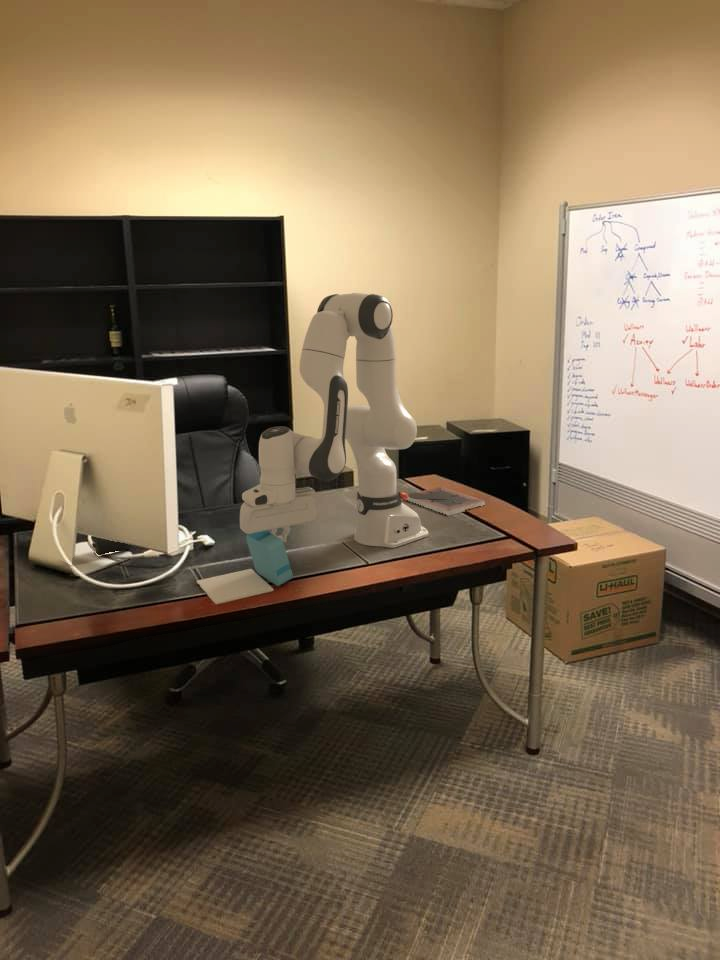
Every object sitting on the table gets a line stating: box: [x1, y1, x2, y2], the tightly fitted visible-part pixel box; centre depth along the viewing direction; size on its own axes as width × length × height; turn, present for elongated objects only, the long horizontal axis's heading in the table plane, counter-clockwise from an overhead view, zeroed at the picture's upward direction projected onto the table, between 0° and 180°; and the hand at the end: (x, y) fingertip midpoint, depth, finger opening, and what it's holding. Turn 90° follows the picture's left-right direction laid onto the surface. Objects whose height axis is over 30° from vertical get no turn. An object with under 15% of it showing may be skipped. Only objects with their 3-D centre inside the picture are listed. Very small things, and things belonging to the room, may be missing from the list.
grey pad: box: [196, 568, 275, 605], centre depth 188 cm, size 15×15×1 cm
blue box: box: [245, 530, 294, 587], centre depth 190 cm, size 12×4×12 cm, turn 37°
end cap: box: [90, 536, 134, 555], centre depth 211 cm, size 10×7×7 cm
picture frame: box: [406, 486, 486, 517], centre depth 251 cm, size 16×2×22 cm
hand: (280, 543), depth 191 cm, fingers closed
